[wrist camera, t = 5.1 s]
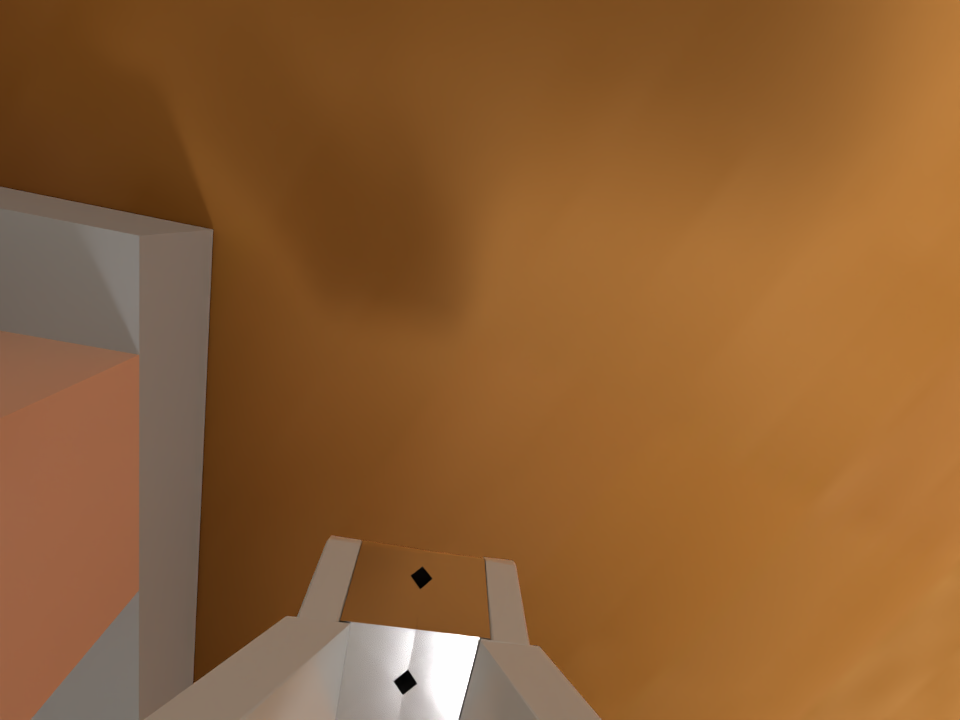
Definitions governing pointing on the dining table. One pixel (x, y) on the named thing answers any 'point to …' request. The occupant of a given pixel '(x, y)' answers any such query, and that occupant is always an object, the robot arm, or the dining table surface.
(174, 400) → the tray
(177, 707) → the robot arm
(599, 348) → the dining table surface
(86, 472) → the block
